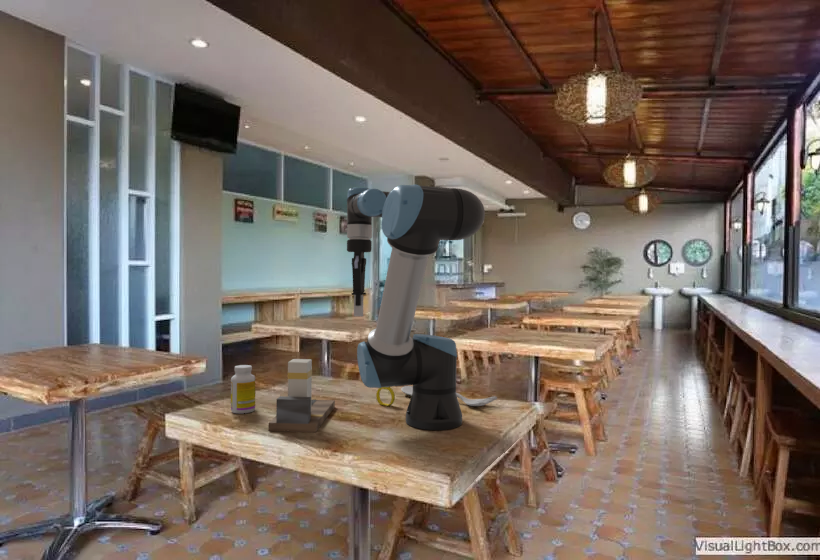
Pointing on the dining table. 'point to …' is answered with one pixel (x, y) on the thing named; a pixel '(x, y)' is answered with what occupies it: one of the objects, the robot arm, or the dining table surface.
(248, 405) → the supplement bottle
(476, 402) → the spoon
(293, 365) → the banded white pillar
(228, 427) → the dining table surface
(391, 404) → the yellow ring
